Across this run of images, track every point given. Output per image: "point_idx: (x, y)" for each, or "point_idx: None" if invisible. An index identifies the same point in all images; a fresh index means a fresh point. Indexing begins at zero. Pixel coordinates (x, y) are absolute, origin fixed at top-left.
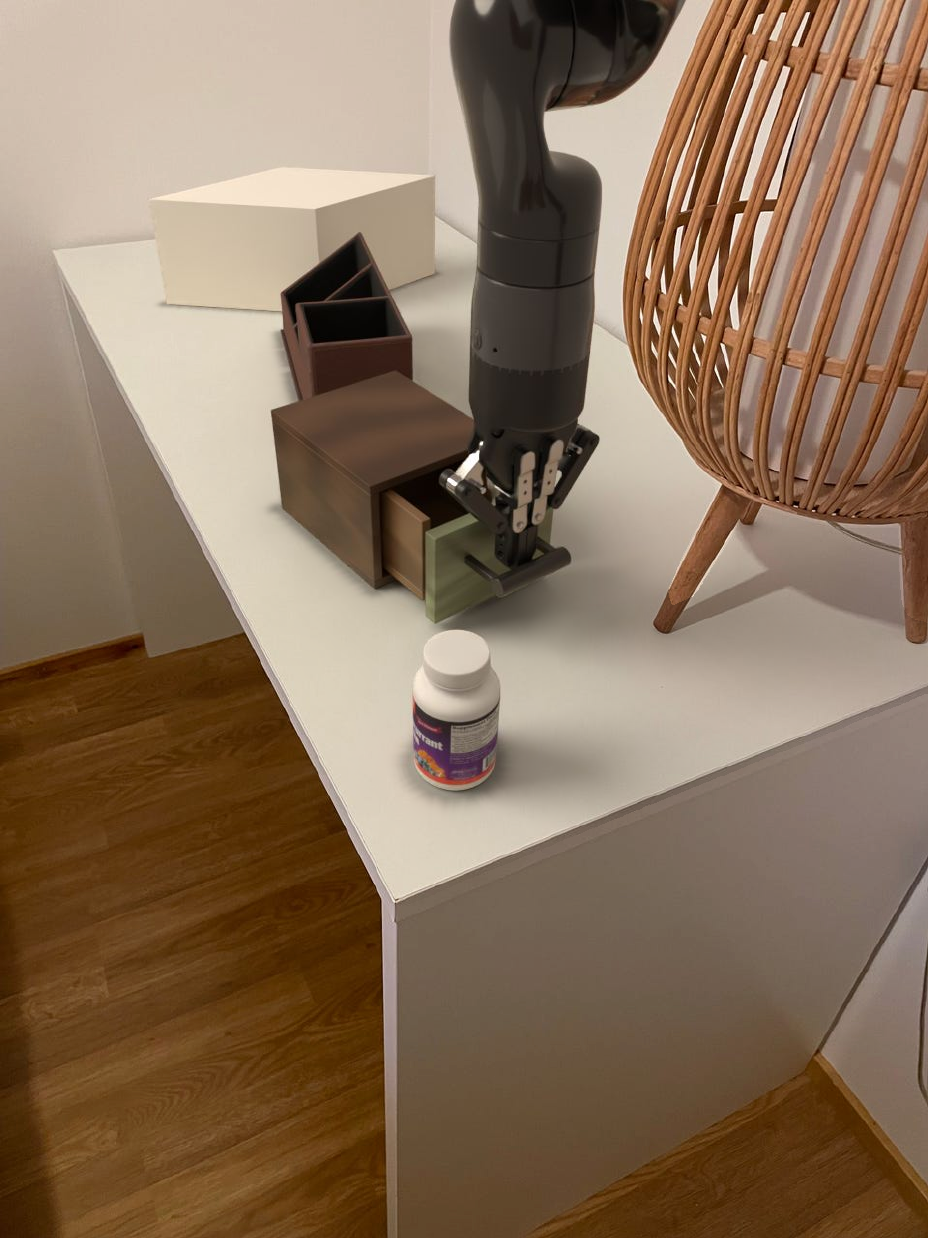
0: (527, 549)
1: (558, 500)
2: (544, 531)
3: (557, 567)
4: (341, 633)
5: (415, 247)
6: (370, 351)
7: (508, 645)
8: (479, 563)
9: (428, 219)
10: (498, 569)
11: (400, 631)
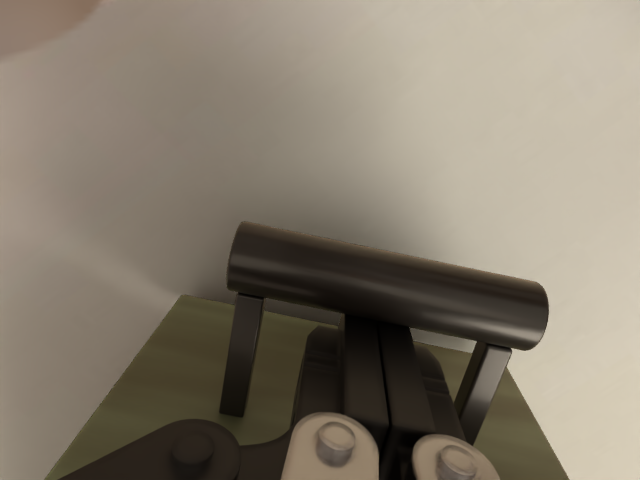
0: (375, 352)
1: (195, 461)
2: (158, 371)
3: (307, 235)
4: (592, 459)
5: None
6: None
7: (431, 214)
8: (468, 417)
9: None
10: None
11: (526, 393)
